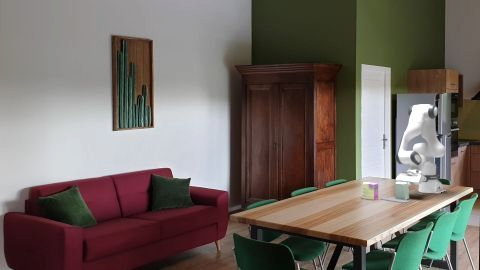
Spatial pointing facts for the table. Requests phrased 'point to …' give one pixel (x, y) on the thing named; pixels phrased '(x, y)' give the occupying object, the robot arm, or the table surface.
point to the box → (370, 191)
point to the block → (401, 190)
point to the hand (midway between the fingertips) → (404, 187)
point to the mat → (395, 200)
